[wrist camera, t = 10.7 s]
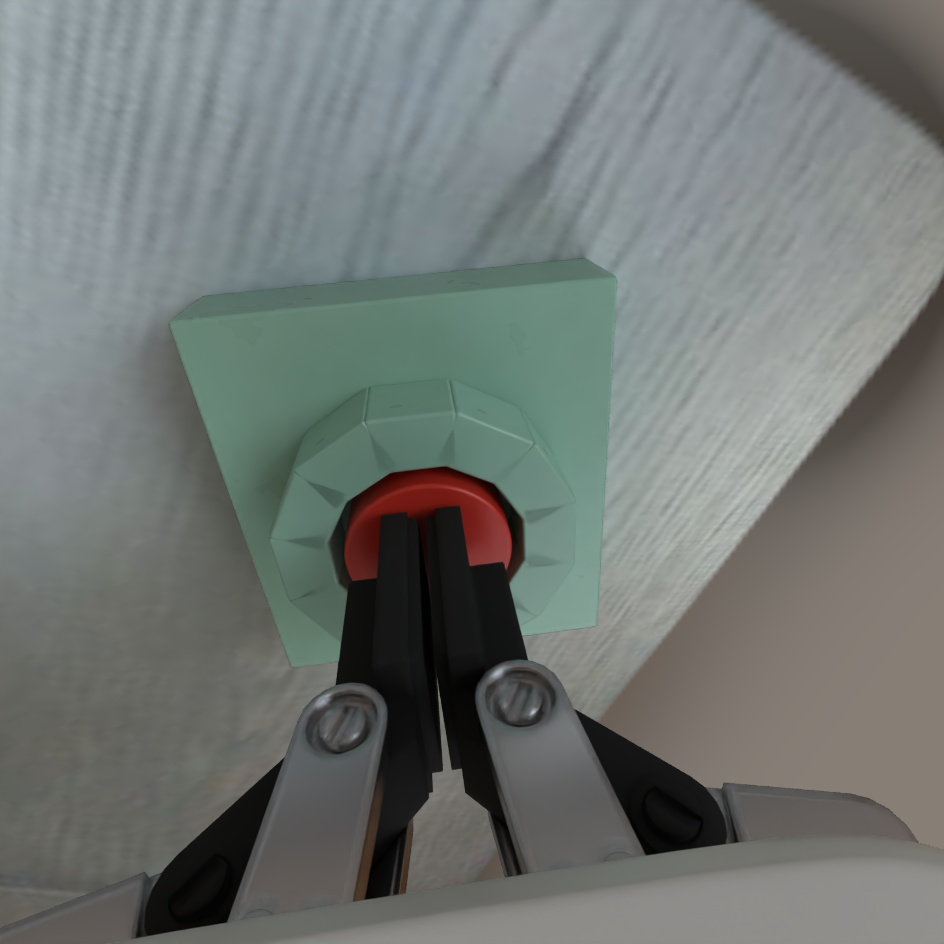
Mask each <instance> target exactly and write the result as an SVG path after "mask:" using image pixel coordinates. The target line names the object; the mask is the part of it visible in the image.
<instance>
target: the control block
mask: <svg viewBox="0 0 944 944" xmlns="http://www.w3.org/2000/svg"><path fill="white" fill-rule="evenodd" d="M616 295H617V277H616V276H615V275H613V274H612V273H610V272H608V271H607V270H605V269H603V268H602V267H600V266H598V265H597V264H595V263H593V262H592V261H590V260H588V259H586V258H584V259H574V260H564V261H553V262H543V263H533V264H523V265H513V266H503V267H493V268H483V269H473V270H463V271H452V272H442V273H432V274H422V275H412V276H402V277H392V278H382V279H372V280H361V281H351V282H341V283H331V284H321V285H311V286H301V287H291V288H281V289H270V290H260V291H250V292H240V293H230V294H220V295H210V296H203V297H201V298H200V299H199V300H197V301H196V302H195V303H193V304H192V305H190V306H189V307H188V308H186V309H185V310H184V311H182V312H181V313H180V314H178V315H177V316H176V317H174V318H173V319H172V320H170V321H169V328H170V331H171V334H172V336H173V339H174V342H175V345H176V348H177V350H178V353H179V356H180V359H181V362H182V364H183V367H184V370H185V373H186V376H187V378H188V381H189V384H190V387H191V390H192V392H193V395H194V398H195V401H196V404H197V406H198V409H199V412H200V415H201V418H202V420H203V423H204V426H205V429H206V432H207V434H208V437H209V440H210V443H211V446H212V448H213V451H214V454H215V457H216V460H217V462H218V465H219V468H220V471H221V474H222V476H223V479H224V482H225V485H226V488H227V490H228V493H229V496H230V499H231V501H232V504H233V507H234V510H235V513H236V515H237V518H238V521H239V524H240V527H241V529H242V532H243V535H244V538H245V541H246V543H247V546H248V549H249V552H250V555H251V557H252V560H253V563H254V566H255V569H256V571H257V574H258V577H259V580H260V583H261V585H262V588H263V591H264V594H265V597H266V599H267V602H268V605H269V608H270V611H271V613H272V616H273V619H274V622H275V625H276V627H277V630H278V633H279V636H280V639H281V641H282V644H283V647H284V650H285V653H286V655H287V658H288V661H289V664H290V666H291V667H293V668H294V667H302V666H309V665H316V664H324V663H331V662H338V661H339V655H340V647H341V639H342V631H343V624H344V616H345V608H346V600H347V592H348V586H349V583H350V581H352V579H351V577H350V575H349V573H348V570H347V567H346V563H345V557H344V547H345V540H346V533H347V526H348V520H349V513H350V506H351V500H352V498H354V497H355V496H357V495H358V494H360V493H361V492H363V491H364V490H366V489H367V488H369V487H370V486H372V485H373V484H375V483H376V482H378V481H379V480H381V479H382V478H384V477H385V476H387V475H388V474H390V473H393V472H402V471H410V470H419V469H427V468H436V467H444V466H446V467H449V468H452V469H455V470H457V471H460V472H463V473H466V474H468V475H471V476H474V477H477V478H479V479H482V480H485V481H488V482H491V483H493V484H494V485H495V486H496V487H497V488H498V491H499V494H500V498H501V501H502V505H503V508H504V512H505V516H506V519H507V523H508V527H509V530H510V534H511V540H512V553H511V558H510V562H509V565H508V568H507V570H506V573H507V577H508V581H509V585H510V589H511V593H512V597H513V601H514V605H515V609H516V613H517V617H518V621H519V626H520V630H521V634H522V637H523V636H530V635H538V634H545V633H552V632H560V631H567V630H574V629H582V628H589V627H595V626H597V620H598V603H599V586H600V569H601V552H602V535H603V518H604V501H605V483H606V466H607V449H608V432H609V415H610V398H611V381H612V364H613V347H614V329H615V312H616Z"/></svg>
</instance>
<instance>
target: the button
mask: <svg viewBox="0 0 944 944" xmlns="http://www.w3.org/2000/svg"><path fill="white" fill-rule="evenodd" d="M452 506H460V509H461V516H462V522H463V528H464V534H465V541H466V547H467V553H468V559H469V566H473V565H481V564H488V563H496V562H503V563H504V565H505V569H506V570H507V568H508V565H509V562H510V558H511V553H512V540H511V534H510V530H509V527H508V523H507V519H506V516H505V512H504V508H503V505H502V501H501V498H500V494H499V491H498V488H497V487H496V486H495V485H494V484H493V483H491V482H488V481H485V480H482V479H479V478H477V477H474V476H471V475H468V474H466V473H463V472H460V471H457V470H455V469H452V468H449V467H446V466H444V467H436V468H427V469H419V470H410V471H402V472H393V473H390V474H388V475H387V476H385V477H384V478H382V479H381V480H379V481H378V482H376V483H375V484H373V485H372V486H370V487H369V488H367V489H366V490H364V491H363V492H361V493H360V494H358V495H357V496H355V497H354V498H352V500H351V506H350V513H349V520H348V526H347V533H346V540H345V547H344V557H345V563H346V567H347V570H348V573H349V575H350V577H351V579H352V581H356V580H364V579H372V578H377V570H378V554H379V537H380V521H381V515H386V514H395V513H403V512H407V514H408V519H409V518H418V522H419V528H420V535H421V541H422V548H423V554H424V561H425V567H426V574H427V581H428V587H429V594H430V582H429V566H428V549H427V533H426V516H434V515H435V508H444V507H452ZM430 600H431V599H430Z"/></svg>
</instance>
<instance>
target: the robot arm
mask: <svg viewBox="0 0 944 944" xmlns="http://www.w3.org/2000/svg"><path fill="white" fill-rule="evenodd" d="M426 533H427V549H428V566H429V582H430V594H429V587H428V581H427V574H426V567H425V561H424V554H423V548H422V541H421V535H420V528H419V522H418V518H409V519H408V514H407V512H403V513H395V514H386V515H381V521H380V537H379V554H378V570H377V578H372V579H364V580H356V581H350V583H349V586H348V592H347V600H346V608H345V616H344V624H343V631H342V639H341V647H340V655H339V663H338V671H337V679H336V686H334V687H331V688H329V689H326V690H324V691H323V692H322V693H320V694H319V695H317V696H316V697H314V698H313V699H312V700H311V701H310V703H309V704H308V705H307V706H306V707H305V708H304V709H303V711H302V713H301V715H300V717H299V719H298V721H297V724H296V726H295V729H294V732H293V735H292V738H291V741H290V744H289V746H288V749H287V752H286V755H285V757H284V758H283V759H282V760H281V761H280V762H279V763H278V764H277V765H276V766H275V767H273V768H272V769H271V770H270V771H269V772H268V773H267V774H266V775H265V776H264V777H262V778H261V779H260V780H259V781H258V782H257V783H256V784H255V785H254V786H253V787H252V788H250V789H249V790H248V791H247V792H246V793H245V794H244V795H243V796H242V797H241V798H239V799H238V800H237V801H236V802H235V803H234V804H233V805H232V806H231V807H230V808H228V809H227V810H226V811H225V812H224V813H223V814H222V815H221V816H220V817H219V818H217V819H216V820H215V821H214V822H213V823H212V824H211V825H210V826H209V827H208V828H207V829H205V830H204V831H203V832H202V833H201V834H200V835H199V836H198V837H197V838H196V839H194V840H193V841H192V842H191V843H190V844H189V845H188V846H187V847H186V848H185V849H183V850H182V851H181V852H180V853H179V854H178V855H177V856H176V857H175V858H174V859H173V860H172V862H171V863H170V864H169V865H168V866H167V867H166V868H165V869H164V870H163V872H162V873H159V874H157V875H154V876H151V877H148V876H147V874H146V873H145V872H143V873H140V874H137V875H135V876H132V877H130V878H127V879H125V880H122V881H119V882H117V883H114V884H112V885H109V886H106V887H104V888H101V889H99V890H96V891H94V892H91V893H88V894H86V895H83V896H81V897H78V898H76V899H73V900H70V901H68V902H65V903H63V904H60V905H57V906H55V907H52V908H50V909H47V910H45V911H42V912H39V913H37V914H34V915H32V916H29V917H27V918H24V919H21V920H19V921H16V922H14V923H11V924H9V925H6V926H3V927H1V928H0V944H944V849H940V848H937V847H933V846H930V845H926V844H922V843H919V842H918V841H917V839H916V838H915V837H914V835H913V834H912V832H911V831H910V829H909V828H908V827H907V825H906V824H905V823H904V822H903V821H901V819H899V818H898V817H897V816H896V815H895V814H894V813H893V812H892V811H890V810H889V809H888V808H886V807H884V806H882V805H881V804H879V803H877V802H875V801H873V800H871V799H870V798H866V797H862V796H858V795H854V794H849V793H839V792H838V793H837V792H827V791H815V790H804V789H793V788H781V787H769V786H758V785H747V784H734V783H724V784H723V787H722V789H718V788H706V787H704V786H703V785H701V784H700V783H699V782H697V781H696V780H695V779H693V778H692V777H690V776H689V775H687V774H685V773H684V772H682V771H680V770H679V769H677V768H675V767H673V766H672V765H670V764H668V763H667V762H665V761H663V760H661V759H660V758H658V757H656V756H655V755H653V754H651V753H649V752H648V751H646V750H644V749H642V748H641V747H639V746H637V745H635V744H634V743H632V742H630V741H629V740H627V739H625V738H624V737H622V736H620V735H618V734H617V733H615V732H613V731H612V730H610V729H608V728H606V727H605V726H603V725H601V724H599V723H598V722H596V721H594V720H593V719H591V718H589V717H587V716H586V715H584V714H582V713H581V712H579V711H577V710H575V709H574V708H573V706H572V704H571V702H570V700H569V698H568V695H567V693H566V691H565V689H564V687H563V685H562V683H561V682H560V681H559V679H558V678H557V676H556V675H555V674H554V673H553V672H552V671H550V670H549V669H548V668H546V667H545V666H543V665H541V664H538V663H536V662H533V661H528V658H527V654H526V650H525V646H524V642H523V638H522V634H521V630H520V626H519V621H518V617H517V613H516V609H515V605H514V601H513V597H512V593H511V589H510V585H509V581H508V577H507V573H506V569H505V565H504V563H503V562H496V563H488V564H481V565H473V566H469V559H468V553H467V547H466V541H465V534H464V528H463V522H462V516H461V509H460V506H452V507H444V508H435V515H434V516H426ZM430 599H431V600H430ZM437 679H438V685H439V692H440V698H441V704H442V711H443V717H444V723H445V730H446V736H447V742H448V748H449V755H450V761H451V767H452V770H455V769H462V772H463V779H464V786H465V793H466V794H468V795H469V796H470V797H471V798H473V799H474V800H475V801H477V802H478V803H479V804H480V805H482V806H483V807H484V808H486V809H487V810H488V818H489V822H490V825H491V829H492V833H493V836H494V840H495V843H496V847H497V851H498V854H499V858H500V861H501V865H502V869H503V872H504V876H505V878H499V879H493V880H487V881H480V882H474V883H468V884H462V885H455V886H449V887H443V888H436V889H430V890H424V891H418V892H412V893H406V886H407V878H408V870H409V862H410V854H411V846H412V838H413V817H414V816H415V814H416V813H417V812H418V811H419V810H420V808H421V807H422V806H423V805H424V803H425V802H426V801H427V800H428V799H429V793H431V792H433V784H432V773H435V772H442V771H443V764H442V748H441V732H440V717H439V701H438V685H437Z"/></svg>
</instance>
